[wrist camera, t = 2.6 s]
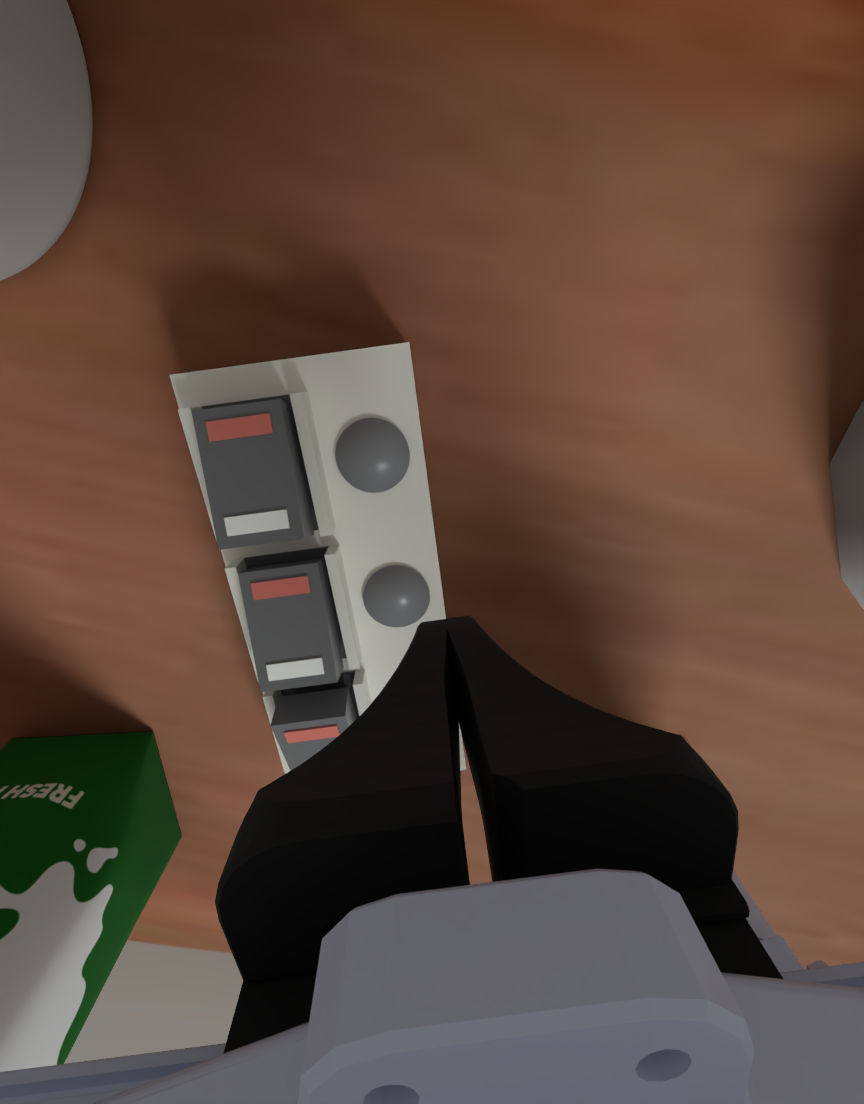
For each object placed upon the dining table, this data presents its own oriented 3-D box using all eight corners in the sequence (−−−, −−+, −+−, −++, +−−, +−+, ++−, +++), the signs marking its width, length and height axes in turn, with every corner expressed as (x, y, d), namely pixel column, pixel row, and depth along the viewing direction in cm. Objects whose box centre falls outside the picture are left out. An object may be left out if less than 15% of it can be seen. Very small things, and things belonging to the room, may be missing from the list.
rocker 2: (343, 668, 19) (336, 683, 17) (272, 677, 19) (259, 693, 17) (325, 557, 18) (316, 563, 17) (252, 566, 18) (236, 573, 17)
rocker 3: (369, 756, 21) (367, 787, 20) (306, 764, 21) (300, 796, 20) (348, 687, 19) (344, 717, 18) (278, 696, 19) (270, 727, 18)
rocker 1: (314, 534, 17) (303, 538, 15) (235, 544, 17) (217, 550, 15) (293, 406, 16) (279, 398, 15) (211, 417, 16) (190, 410, 15)
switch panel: (468, 785, 26) (477, 853, 22) (321, 804, 26) (306, 875, 22) (409, 348, 19) (409, 339, 15) (206, 375, 19) (154, 374, 15)
